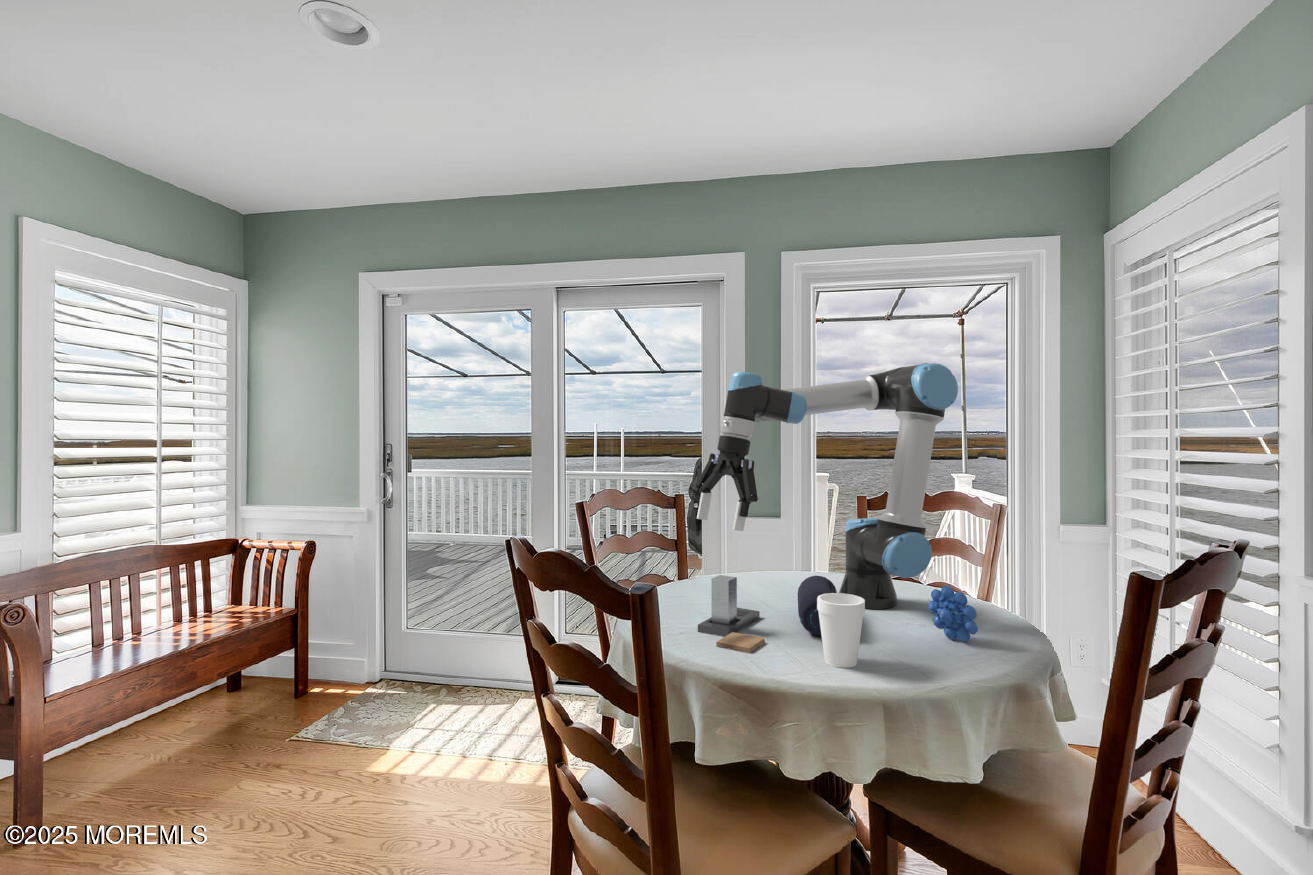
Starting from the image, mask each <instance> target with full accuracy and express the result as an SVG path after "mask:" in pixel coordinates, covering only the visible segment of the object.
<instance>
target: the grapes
mask: <svg viewBox="0 0 1313 875" xmlns="http://www.w3.org/2000/svg"><path fill="white" fill-rule="evenodd" d="M930 596H931V600H930V601H929V602H928V604H927V608H928V611H929V612H930V613H931V614H932V615H934V616H933V617H932V622H933V625H934V626H935V628H937V629H940V630H943V633H944V636H945V637H946V638H947V639H948V640H951V641H954V640H956V639H959V640H960V641H961V642H963V643H967V642H969V641H970V639H971V635H975V634H977V633H978V631H979V627H978V625H977V623H976V622H975V621H974V620H976V618H977V617H978V613H977V611H976V609H975V608H974V607H973V606H972V605H970V604H968V597H967V595H966V594H965V593H963V592H961V591H956V592H954V589H953V588H952V587H951V586H949V585H943V586H942V587H941V589H937V588H935V589H932V591H931V592H930Z"/></svg>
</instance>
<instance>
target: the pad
mask: <svg viewBox="0 0 1313 875" xmlns="http://www.w3.org/2000/svg"><path fill="white" fill-rule="evenodd" d="M765 639H766V638H765V637H760V636H757V635H750V634H744V633H739V632H736V633H735V632H732V633H730V634H728V635H727V636H723V637H722V638H720V639H719V640H718V641H716V647H717V646H721V647H720V648H722V647H725V648H724V649H727V648H730V649H729V650H732V649H734V650H733V651H737V650H738V652H743V653H749V654H751V653H752V652H753V651H755V650H756V649H758V648H759V647H760V646H762V645H764V644H765V641H766V640H765Z"/></svg>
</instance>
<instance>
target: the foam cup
mask: <svg viewBox="0 0 1313 875" xmlns="http://www.w3.org/2000/svg"><path fill="white" fill-rule="evenodd" d="M817 610H818V612H819V620H820V628H821V635H822V636H821V642H822V650H823V657H824V661H825V663H826V664H827V665H830V666H832V667H836V668H846V669H847V668H853V667H855V666H857V663H858V657H859V649H860V643H861V642H860V640H861V635H862V628H863V620H864V615H865V612H866V611H865V610H866V608H865V600H864V599H863V598H861V597H859V596H855V595H851V594H844V593H838V592H837V593H828V594H822V595H819V596H818V598H817Z"/></svg>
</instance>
